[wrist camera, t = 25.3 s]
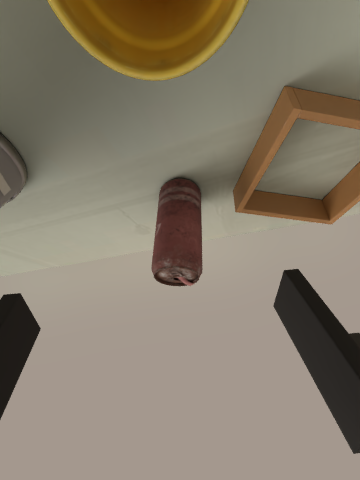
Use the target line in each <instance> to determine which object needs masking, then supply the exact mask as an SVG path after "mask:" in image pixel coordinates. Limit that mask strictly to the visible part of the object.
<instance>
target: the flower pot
mask: <svg viewBox="0 0 360 480" xmlns="http://www.w3.org/2000/svg"><path fill="white" fill-rule="evenodd" d="M47 1H48V3H49V5H50V6H51V8H52V10H53V11H54V13H55V14H56V16H57V17H58V19H59V20H60V22H61V23H62V24H63V26H64V27H65V28H66V29H67V31H68V32H69V33H70V34H71V35H72V36H73V38H74V39H75V40H76V41H77V42H78V43H79V44H80V45H81V46H82V47H83V48H84V49H85V50H86V51H87V52H89V53H90V54H91V55H92V56H93V57H95V58H96V59H97V60H99V61H100V62H101V63H103V64H104V65H106V66H108V67H109V68H111V69H113V70H115V71H117V72H119V73H122V74H124V75H127V76H129V77H133V78H137V79H142V80H153V81H157V80H167V79H172V78H175V77H179V76H181V75H184V74H186V73H188V72H190V71H192V70H194V69H195V68H197V67H199V66H200V65H201V64H203V63H204V62H205V61H207V60H208V59H209V58H210V57H211V56H212V55H213V54H214V53H215V52H216V51H217V50H218V49H219V48H220V47H221V46H222V45H223V43H224V42H225V41H226V40H227V38H228V37H229V36H230V34H231V33H232V31H233V30H234V28H235V27H236V25H237V23H238V21H239V20H240V18H241V16H242V14H243V12H244V10H245V8H246V6H247V4H248V1H249V0H47Z"/></svg>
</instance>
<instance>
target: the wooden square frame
mask: <svg viewBox="0 0 360 480" xmlns="http://www.w3.org/2000/svg"><path fill="white" fill-rule="evenodd" d="M297 118H300V119H305V120H311V121H316V122H322V123H327V124H333V125H338V126H344V127H349V128H355V129H360V101H358V100H353V99H348V98H343V97H338V96H333V95H328V94H323V93H318V92H313V91H307V90H302V89H297V88H292V87H287V86H284V88H283V90H282V92H281V94H280V97H279V99H278V101H277V103H276V105H275V107H274V109H273V111H272V113H271V115H270V117H269V119H268V121H267V123H266V125H265V127H264V129H263V131H262V133H261V135H260V137H259V139H258V141H257V143H256V146H255V148H254V150H253V152H252V154H251V156H250V158H249V160H248V162H247V164H246V166H245V168H244V170H243V172H242V174H241V176H240V178H239V180H238V182H237V184H236V186H235V188H234V190H233V195H234V203H235V212H239V213H247V214H255V215H263V216H270V217H278V218H286V219H293V220H301V221H309V222H316V223H325V224H333V223H334V222H335V221H336V220H337V219H339V218H340V217H341V216H342V215H343V214H344V213H346V212H347V211H348V210H349V209H350V208H352V207H353V206H354V205H355V204H356V203H358V202H359V201H360V162H359V163H358V164H357V165H356V166H355V167H354V168H353V169H352V170H351V171H350V172H349V173H348V174H347V175H346V176H345V177H344V178H343V179H342V180H341V181H340V182H339V183H338V184H337V186H336V187H335V188H334V189H333V190H332V191H331V192H330V193H329V194H328V195H327V196H326V197H325V198H324V199H323V200H318V199H311V198H304V197H297V196H290V195H283V194H276V193H269V192H262V191H255V188H256V186H257V185H258V183H259V181H260V179H261V178H262V176H263V174H264V173H265V171H266V169H267V168H268V166H269V164H270V163H271V161H272V159H273V158H274V156H275V154H276V152H277V151H278V149H279V147H280V146H281V144H282V142H283V141H284V139H285V137H286V136H287V134H288V132H289V131H290V129H291V127H292V126H293V124H294V122H295V120H296V119H297Z"/></svg>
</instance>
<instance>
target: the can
mask: <svg viewBox="0 0 360 480" xmlns="http://www.w3.org/2000/svg"><path fill="white" fill-rule="evenodd" d="M152 272H153V274H154V278H155V279H156V280H157V281H158V282H160V283H162V284H166V285H171V286H187V285H189V286H191V285H193V284H194V283H196V282H197V281H198V280H199V277H200V275H201V274H202V226H201V192H200V189H199V188H198V186H197V185H196V184H195V183H194V182H192V181H190V180H187V179H184V178H176V179H172V180H170V181H168V182H166V183H165V184H164V185H163V186H162V187H161V190H160V194H159V204H158V213H157V222H156V231H155V241H154V250H153V259H152Z"/></svg>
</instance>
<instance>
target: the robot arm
mask: <svg viewBox="0 0 360 480" xmlns="http://www.w3.org/2000/svg"><path fill="white" fill-rule="evenodd" d="M26 180H27V171H26V167H25V165H24V162H23V160H22V158H21V157H20V155H19V154H18V152H17V151H16V150H15V148H14V147H13V146H12V145H11V144H10V143H9V141H8V140H7V139H6V138H5V137H4V136H2V135H1V134H0V208H1V207H2V206H3V205H4V204H5V203H8V202H10V201H11V200H13V199H14V198H15V197H16V196H17V195H18V194H19V193H20V192H21V190H22V188H23V187H24V185H25V183H26ZM274 308H275V310H276V312H277V313H278V315H279V317H280V319H281V321H282V323H283V324H284V326H285V328H286V330H287V332H288V334H289V336H290V337H291V339H292V341H293V343H294V345H295V346H296V348H297V350H298V352H299V354H300V356H301V358H302V359H303V361H304V363H305V365H306V367H307V369H308V370H309V372H310V374H311V376H312V378H313V380H314V382H315V383H316V385H317V387H318V389H319V391H320V393H321V394H322V396H323V398H324V400H325V402H326V404H327V405H328V407H329V409H330V411H331V413H332V415H333V417H334V418H335V420H336V422H337V424H338V426H339V428H340V429H341V431H342V433H343V435H344V437H345V439H346V441H347V442H348V444H349V446H350V448H351V450H352V452H353V453H354V454H355V453H360V333H352V334H348V332H347V331H346V330H345V329H344V327H343V326H342V325H341V323H340V322H339V321H338V319H337V318H336V317H335V316H334V314H333V313H332V312H331V311H330V309H329V308H328V307H327V305H326V304H325V303H324V302H323V300H322V299H321V298H320V297H319V295H318V294H317V293H316V291H315V290H314V289H313V288H312V286H311V285H310V284H309V282H308V281H307V280H306V278H305V277H304V276H303V275H302V273H301V272H300V271H299V269H293V270H284V272H283V276H282V279H281V282H280V286H279V289H278V292H277V296H276V299H275V303H274ZM39 331H40V327H39V325H38V323H37V321H36V320H35V318H34V316H33V315H32V313H31V311H30V309H29V307H28V306H27V304H26V302H25V301H24V299H23V297H22V295H21V294H20V293H18V294H7V295H3V297H2V298H1V300H0V419H1V417H2V415H3V412H4V410H5V408H6V406H7V403H8V401H9V399H10V397H11V394H12V392H13V390H14V388H15V385H16V383H17V381H18V379H19V376H20V374H21V372H22V369H23V367H24V365H25V363H26V361H27V358H28V356H29V354H30V352H31V349H32V347H33V345H34V342H35V340H36V338H37V336H38V334H39Z"/></svg>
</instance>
